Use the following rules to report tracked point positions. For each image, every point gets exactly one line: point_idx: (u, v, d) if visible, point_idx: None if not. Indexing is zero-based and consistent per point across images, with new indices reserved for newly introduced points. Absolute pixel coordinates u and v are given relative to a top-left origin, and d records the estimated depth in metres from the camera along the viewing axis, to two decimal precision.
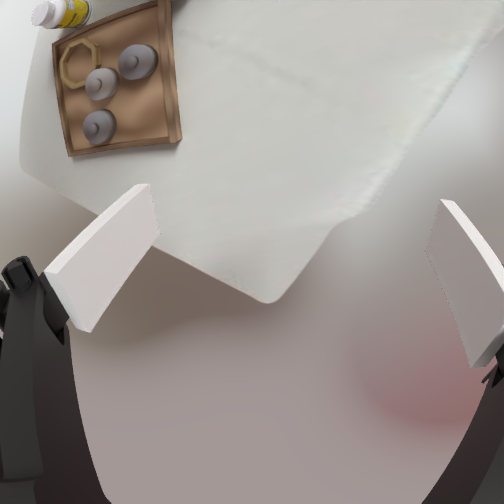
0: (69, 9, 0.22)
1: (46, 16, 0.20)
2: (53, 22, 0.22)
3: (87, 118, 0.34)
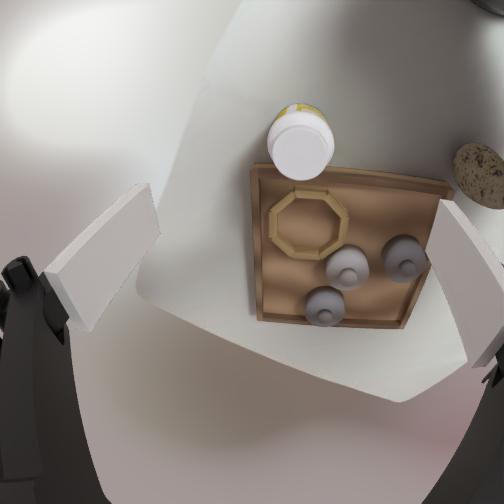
0: None
1: (320, 171, 0.20)
2: None
3: (317, 303, 0.34)
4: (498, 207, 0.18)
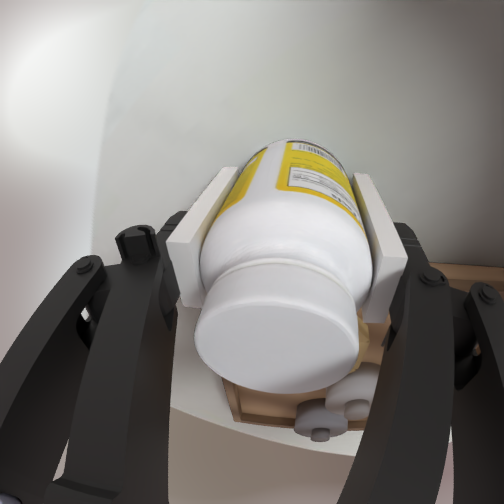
0: None
1: None
2: None
3: (311, 423, 0.22)
4: None
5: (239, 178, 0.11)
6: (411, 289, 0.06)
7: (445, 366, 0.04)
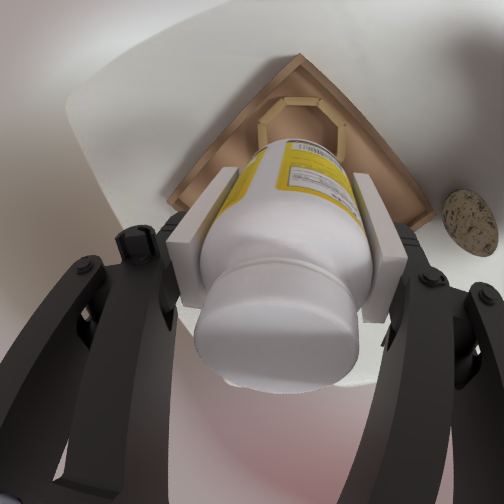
0: None
1: None
2: None
3: None
4: (475, 249, 0.21)
5: (239, 178, 0.11)
6: (411, 289, 0.06)
7: (445, 366, 0.04)
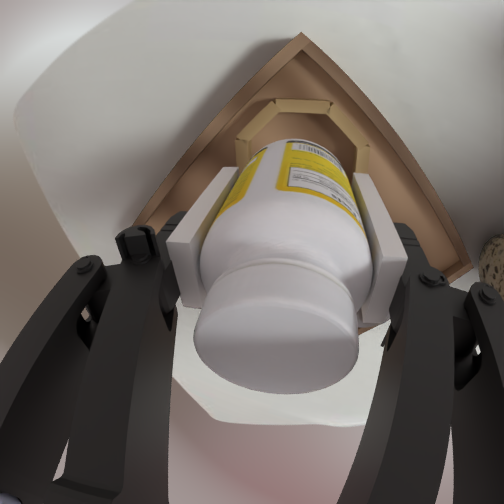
0: None
1: None
2: None
3: None
4: None
5: (239, 178, 0.11)
6: (411, 289, 0.06)
7: (445, 366, 0.04)
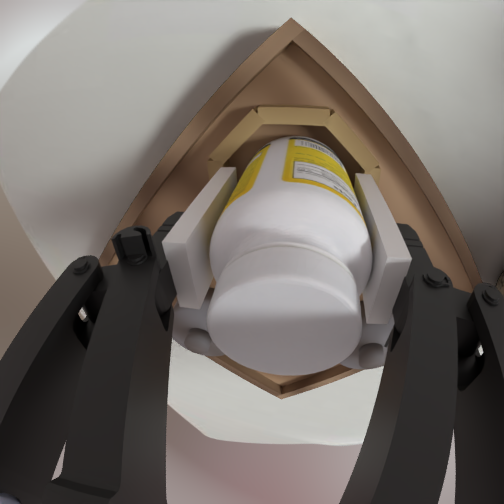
0: None
1: None
2: None
3: (201, 316, 0.18)
4: None
5: (244, 172, 0.11)
6: (415, 290, 0.06)
7: (449, 367, 0.04)
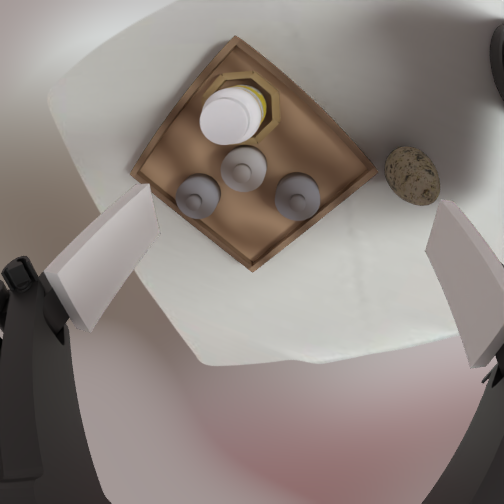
0: (261, 118, 0.24)
1: (243, 135, 0.22)
2: (240, 139, 0.24)
3: (196, 183, 0.32)
4: (415, 197, 0.24)
5: None
6: None
7: None
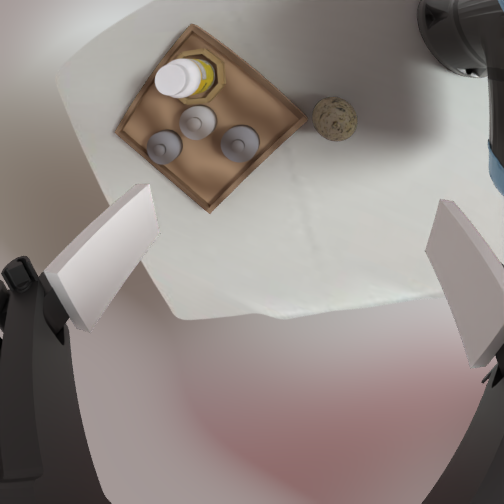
0: (203, 79, 0.30)
1: (183, 88, 0.28)
2: (185, 93, 0.30)
3: (162, 135, 0.39)
4: (327, 129, 0.30)
5: None
6: None
7: None
